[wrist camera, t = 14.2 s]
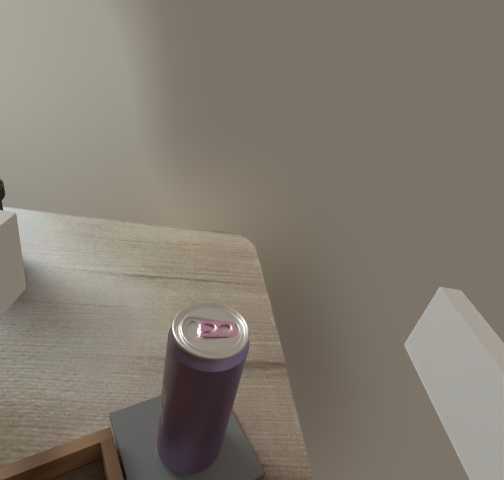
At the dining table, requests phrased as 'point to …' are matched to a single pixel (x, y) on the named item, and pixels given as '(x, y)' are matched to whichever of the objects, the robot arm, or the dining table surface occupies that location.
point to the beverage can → (200, 384)
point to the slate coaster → (149, 463)
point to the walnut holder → (68, 459)
